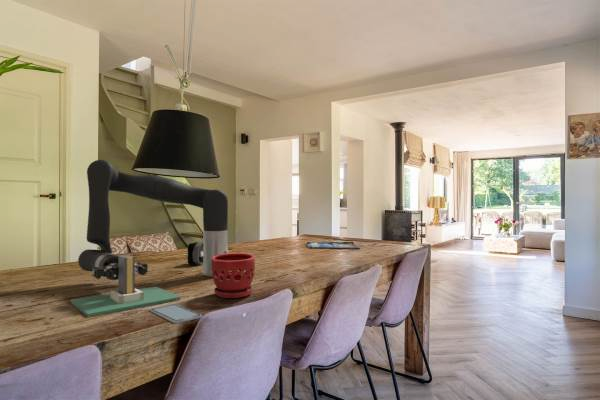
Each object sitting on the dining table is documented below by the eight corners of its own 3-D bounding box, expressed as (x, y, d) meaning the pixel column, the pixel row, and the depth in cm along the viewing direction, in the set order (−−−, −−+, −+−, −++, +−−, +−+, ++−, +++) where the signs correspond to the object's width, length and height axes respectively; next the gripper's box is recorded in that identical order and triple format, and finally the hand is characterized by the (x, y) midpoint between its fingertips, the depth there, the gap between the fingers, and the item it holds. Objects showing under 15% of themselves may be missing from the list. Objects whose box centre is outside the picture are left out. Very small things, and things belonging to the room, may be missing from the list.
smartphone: (175, 303, 102) (203, 315, 91) (175, 306, 102) (203, 318, 91) (148, 309, 97) (175, 321, 86) (148, 312, 97) (175, 325, 86)
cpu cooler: (198, 266, 162) (198, 243, 162) (186, 266, 163) (186, 243, 163) (208, 262, 172) (208, 241, 172) (197, 262, 173) (197, 240, 174)
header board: (155, 288, 121) (155, 280, 121) (180, 299, 107) (180, 290, 107) (70, 302, 104) (70, 292, 104) (87, 317, 91) (87, 305, 91)
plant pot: (207, 292, 116) (208, 254, 116) (248, 288, 122) (248, 252, 122) (215, 302, 104) (215, 260, 104) (260, 298, 110) (260, 257, 110)
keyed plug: (129, 295, 108) (129, 255, 108) (135, 299, 105) (135, 257, 105) (118, 297, 106) (118, 256, 106) (124, 301, 103) (124, 258, 103)
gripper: (85, 256, 111) (101, 262, 100) (134, 252, 121) (154, 257, 109) (85, 281, 111) (101, 290, 99) (134, 274, 121) (154, 282, 109)
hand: (128, 273), depth 104 cm, fingers open, 8 cm apart
